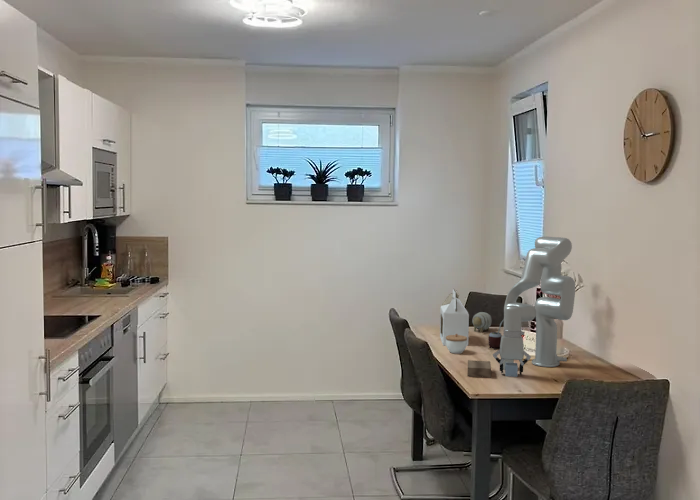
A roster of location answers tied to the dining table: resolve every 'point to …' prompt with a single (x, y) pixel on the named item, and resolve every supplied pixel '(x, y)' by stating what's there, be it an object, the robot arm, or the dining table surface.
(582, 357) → the dining table surface
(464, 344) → the lidded jar
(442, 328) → the gable box
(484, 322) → the toy sheep
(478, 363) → the walnut base block
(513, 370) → the slate blue block
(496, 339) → the mate gourd
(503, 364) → the cream block
